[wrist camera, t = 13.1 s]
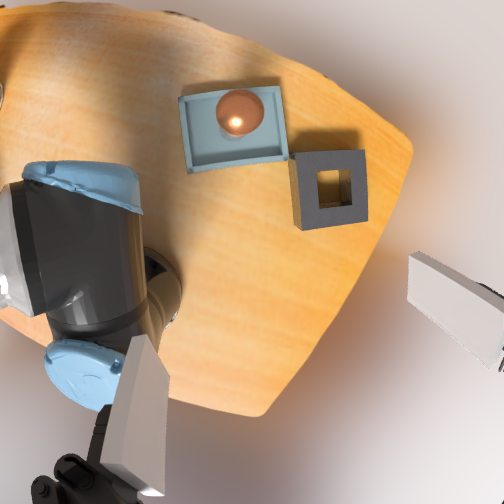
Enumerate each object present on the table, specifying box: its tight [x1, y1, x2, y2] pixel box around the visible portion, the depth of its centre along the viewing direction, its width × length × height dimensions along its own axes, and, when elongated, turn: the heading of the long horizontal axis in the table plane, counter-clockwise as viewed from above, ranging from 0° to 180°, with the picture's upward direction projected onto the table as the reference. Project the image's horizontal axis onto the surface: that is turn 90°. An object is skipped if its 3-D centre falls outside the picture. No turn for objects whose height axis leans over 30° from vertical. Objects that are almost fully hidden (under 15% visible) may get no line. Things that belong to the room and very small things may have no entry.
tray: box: [178, 86, 289, 174], centre depth 35 cm, size 14×11×2 cm
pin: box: [216, 89, 265, 142], centre depth 30 cm, size 5×5×13 cm
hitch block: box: [288, 150, 368, 231], centre depth 39 cm, size 11×11×4 cm
